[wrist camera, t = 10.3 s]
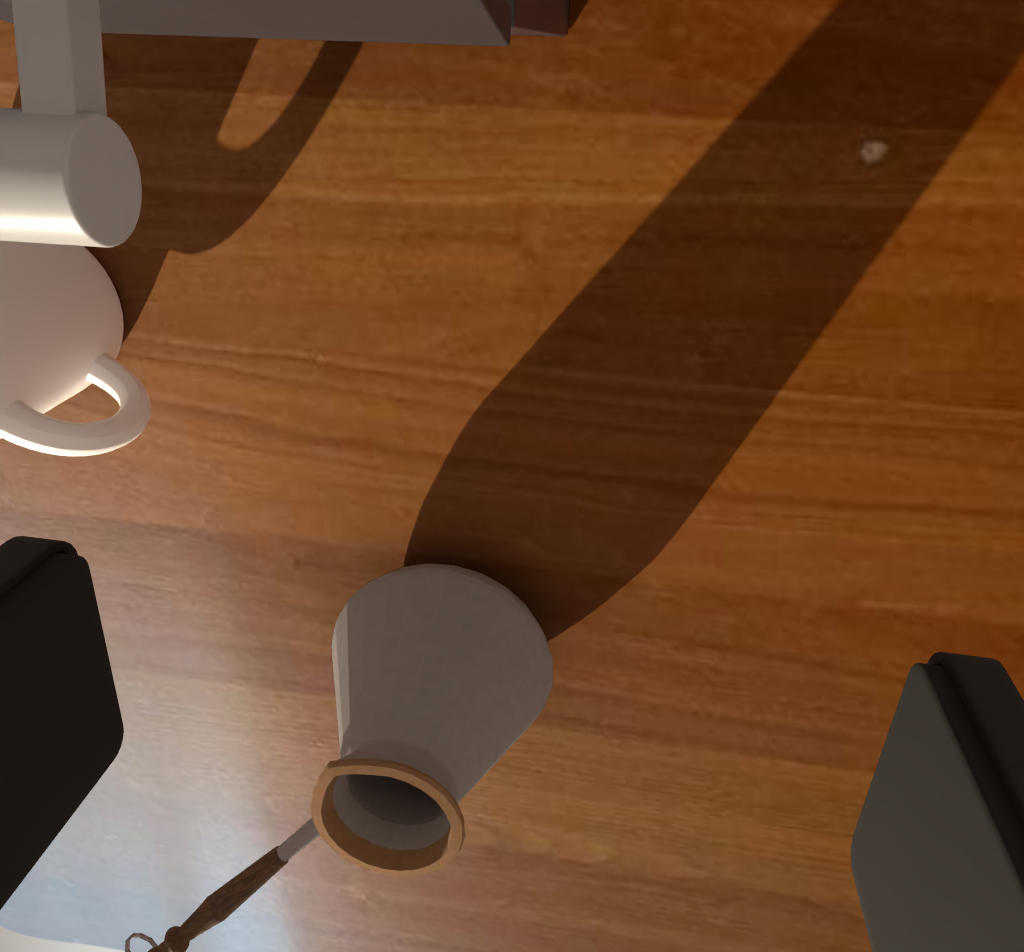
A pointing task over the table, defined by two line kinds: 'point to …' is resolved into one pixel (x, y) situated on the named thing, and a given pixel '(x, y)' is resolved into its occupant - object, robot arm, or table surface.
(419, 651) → the coffee pot
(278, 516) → the table surface
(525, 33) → the dark grey storage bin
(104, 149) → the chamber lid
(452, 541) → the table surface
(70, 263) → the mug
